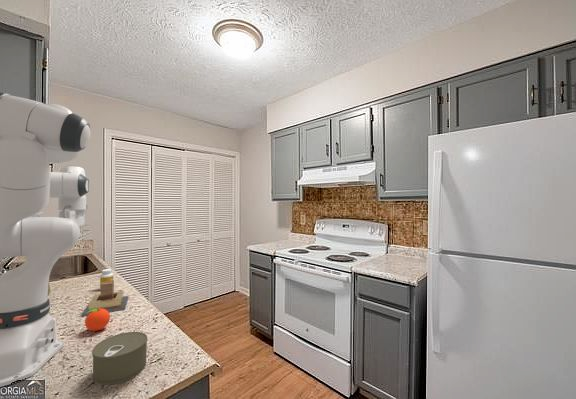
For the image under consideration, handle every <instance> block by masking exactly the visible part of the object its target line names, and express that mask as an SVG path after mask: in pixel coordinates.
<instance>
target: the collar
mask: <svg viewBox="0 0 576 399" xmlns="http://www.w3.org/2000/svg"><path fill="white" fill-rule="evenodd" d="M124 294H125V291H124V290H121V291H120V290H119V291H114V298H112V299H105V300H100V293H98V294H94V295H93V296H92V298H90V299H91V300H90V301H89V302H88V304H87V306H86V307H85V309H84V310H83V312H82V313H81V317H87V316H88V314H89V313H90V312H89V311H91V310H94V309H105V310H107V311H108V312H109V313H113V312H117V311H123V310H124V311H125V310H126V308H127V305H128V301H129V298H130V295H124ZM87 312H88V313H87ZM91 312H92V311H91Z"/></svg>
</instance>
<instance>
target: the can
mask: <svg viewBox="0 0 576 399" xmlns="http://www.w3.org/2000/svg"><path fill="white" fill-rule="evenodd" d="M147 344H148V335H147V334H146V333H143V332H141V331H131V332H130V331H128V332H121V333H119V334H116V335H112V336H110V337H108V338H105V339H103V340H101V341H99V342H98V343H97V344H96V345H95V346H94V347H93V348H92V351H91V354H92V381H93V382H94V384H96V385H97V386H103V385H107V386H112V385H113V386H114V385H117V384H118V385H119V384H121V383H124V382H127V381H129V380H131V379H133V378H135V377H136V376H138V375H139V374H141V373H142V372H143V370H144V369H145V368H146V366H147V348H148V347H147V346H148V345H147Z"/></svg>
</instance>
